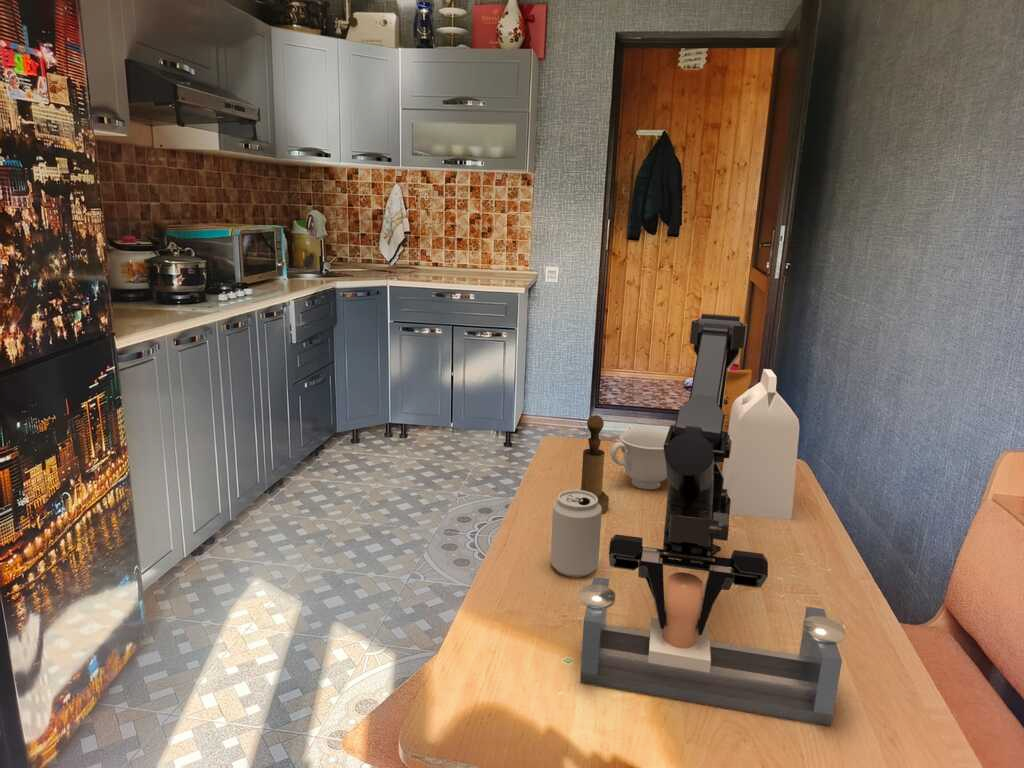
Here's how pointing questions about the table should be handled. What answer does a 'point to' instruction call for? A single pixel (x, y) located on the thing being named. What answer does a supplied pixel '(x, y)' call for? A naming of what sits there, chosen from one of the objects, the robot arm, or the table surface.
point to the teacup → (643, 456)
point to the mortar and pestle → (594, 463)
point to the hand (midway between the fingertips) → (681, 631)
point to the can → (575, 533)
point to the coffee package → (734, 393)
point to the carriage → (681, 627)
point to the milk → (762, 453)
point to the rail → (717, 666)
